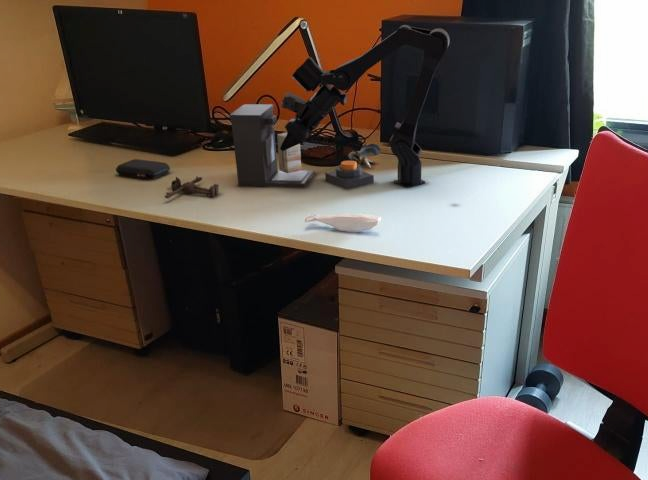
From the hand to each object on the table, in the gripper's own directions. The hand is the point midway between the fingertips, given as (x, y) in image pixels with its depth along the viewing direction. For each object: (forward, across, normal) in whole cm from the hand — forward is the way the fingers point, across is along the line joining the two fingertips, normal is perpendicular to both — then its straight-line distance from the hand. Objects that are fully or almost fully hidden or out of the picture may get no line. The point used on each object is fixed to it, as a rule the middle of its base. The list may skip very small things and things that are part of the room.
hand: (284, 146), depth 199 cm
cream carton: (+4, 0, +6) cm, 7 cm away
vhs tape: (+6, -29, +7) cm, 31 cm away
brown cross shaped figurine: (+23, +14, -10) cm, 29 cm away
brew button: (-9, 0, +17) cm, 19 cm away
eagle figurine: (-7, -15, +21) cm, 27 cm away
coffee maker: (+9, 0, +4) cm, 10 cm away
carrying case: (+38, -2, -25) cm, 46 cm away
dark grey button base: (-6, 0, +20) cm, 20 cm away
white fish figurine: (-9, +37, +23) cm, 45 cm away
